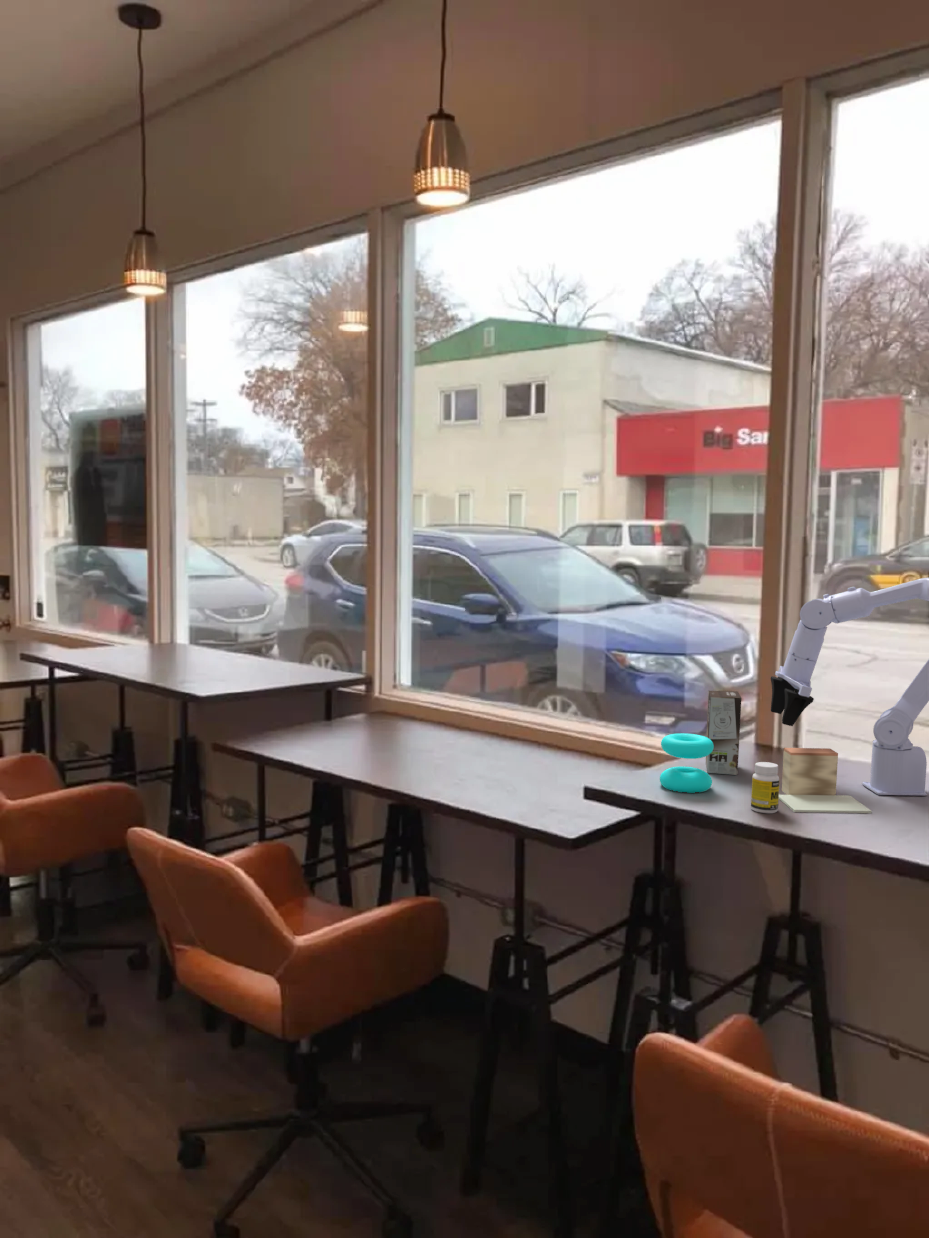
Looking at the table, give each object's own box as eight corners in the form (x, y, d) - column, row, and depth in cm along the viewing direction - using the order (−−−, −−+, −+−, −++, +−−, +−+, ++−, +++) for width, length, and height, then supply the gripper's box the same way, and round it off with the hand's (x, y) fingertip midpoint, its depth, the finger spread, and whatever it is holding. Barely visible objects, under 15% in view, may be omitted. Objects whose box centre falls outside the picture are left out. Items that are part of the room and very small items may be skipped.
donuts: (656, 731, 197) (706, 732, 198) (654, 780, 198) (704, 781, 198) (667, 742, 187) (719, 743, 188) (665, 794, 188) (717, 795, 189)
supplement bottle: (773, 815, 176) (776, 769, 175) (747, 810, 178) (749, 765, 178) (780, 809, 180) (783, 763, 179) (754, 804, 183) (757, 759, 182)
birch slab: (827, 791, 193) (830, 748, 192) (835, 797, 189) (838, 753, 188) (781, 790, 193) (783, 747, 192) (788, 796, 189) (790, 752, 188)
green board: (849, 797, 188) (849, 795, 188) (871, 813, 178) (871, 810, 178) (776, 796, 188) (776, 794, 188) (794, 812, 178) (794, 809, 178)
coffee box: (738, 775, 203) (742, 697, 202) (706, 773, 205) (709, 696, 203) (735, 765, 212) (739, 690, 211) (704, 763, 214) (707, 689, 212)
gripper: (772, 642, 207) (752, 702, 210) (795, 661, 193) (773, 725, 196) (805, 650, 207) (784, 710, 210) (829, 669, 193) (807, 734, 196)
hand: (781, 718), depth 203 cm, fingers open, 7 cm apart
